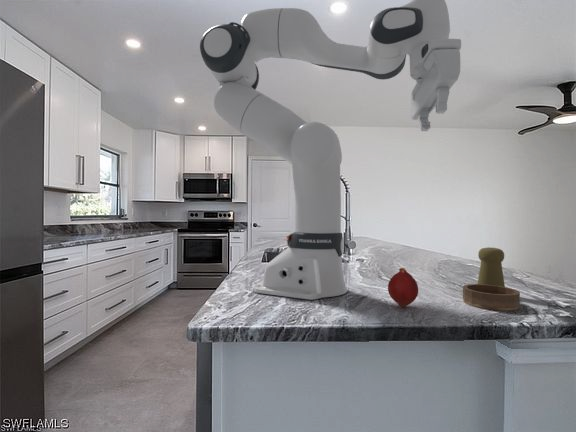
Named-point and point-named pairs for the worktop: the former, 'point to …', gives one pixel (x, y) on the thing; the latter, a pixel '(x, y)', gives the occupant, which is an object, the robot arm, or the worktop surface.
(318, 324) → the worktop surface
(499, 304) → the spice holder
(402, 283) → the onion
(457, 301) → the worktop surface
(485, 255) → the cork
